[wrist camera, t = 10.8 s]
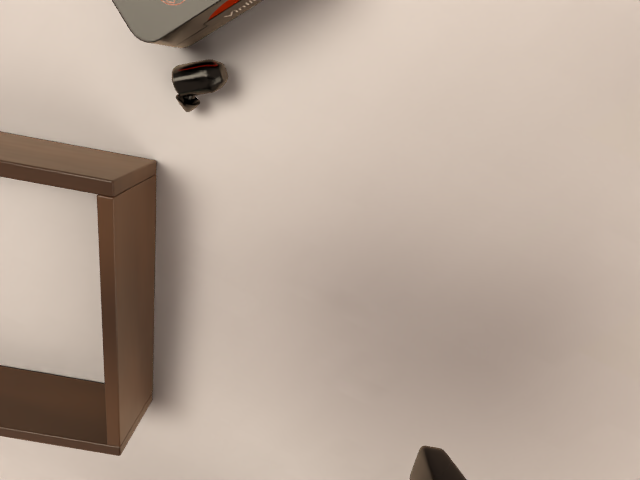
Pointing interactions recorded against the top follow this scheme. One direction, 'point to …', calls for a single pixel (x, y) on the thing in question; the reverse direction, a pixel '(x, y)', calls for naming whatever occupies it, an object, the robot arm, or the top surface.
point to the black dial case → (184, 37)
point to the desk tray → (116, 299)
